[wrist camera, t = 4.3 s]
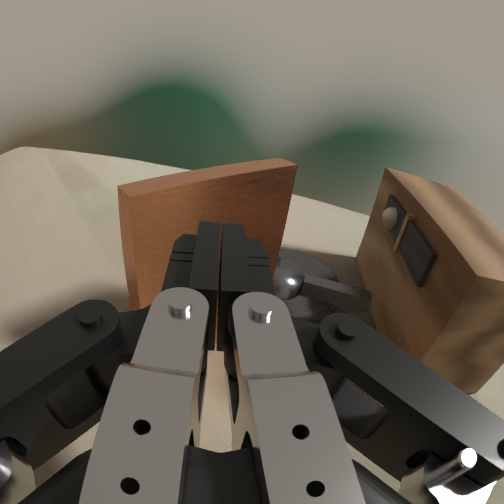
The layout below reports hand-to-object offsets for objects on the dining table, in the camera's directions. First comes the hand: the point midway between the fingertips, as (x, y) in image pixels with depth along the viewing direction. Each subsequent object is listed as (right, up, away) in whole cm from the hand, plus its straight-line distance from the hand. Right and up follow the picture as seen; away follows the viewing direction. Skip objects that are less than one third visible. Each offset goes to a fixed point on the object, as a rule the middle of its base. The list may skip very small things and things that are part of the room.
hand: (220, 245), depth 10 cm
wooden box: (+18, -7, +18) cm, 26 cm away
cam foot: (+1, -6, +15) cm, 16 cm away
